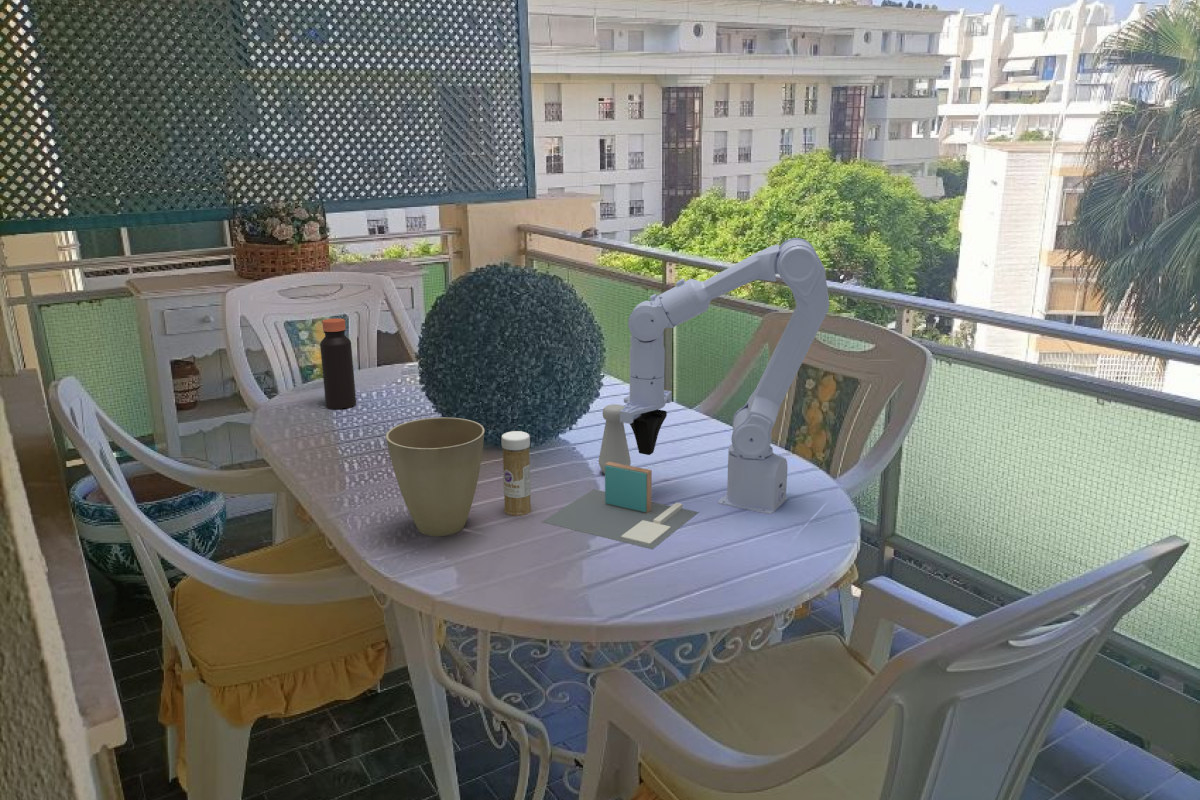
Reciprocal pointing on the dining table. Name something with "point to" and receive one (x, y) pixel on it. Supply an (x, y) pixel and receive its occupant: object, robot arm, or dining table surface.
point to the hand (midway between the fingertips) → (646, 453)
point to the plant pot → (437, 470)
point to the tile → (628, 487)
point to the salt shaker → (613, 438)
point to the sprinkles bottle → (516, 473)
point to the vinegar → (337, 365)
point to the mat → (613, 518)
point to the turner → (652, 527)
